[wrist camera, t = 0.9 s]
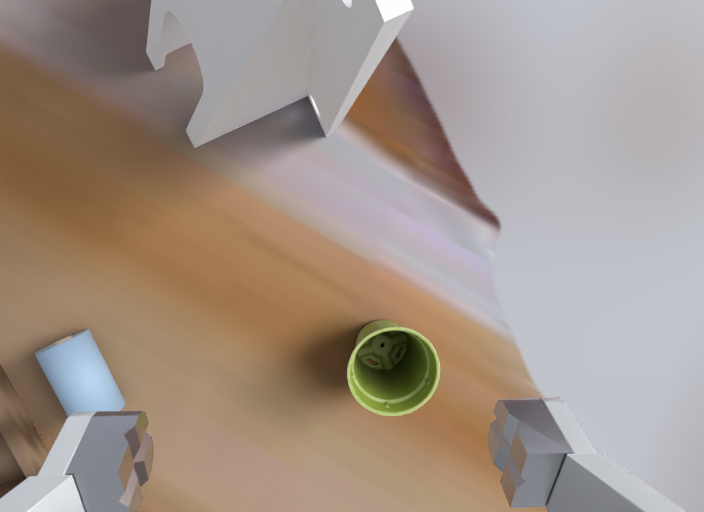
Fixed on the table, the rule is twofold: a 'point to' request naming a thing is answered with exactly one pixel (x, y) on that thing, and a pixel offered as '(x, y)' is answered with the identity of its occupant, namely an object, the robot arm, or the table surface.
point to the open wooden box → (17, 440)
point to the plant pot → (392, 369)
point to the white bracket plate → (275, 54)
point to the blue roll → (80, 375)
